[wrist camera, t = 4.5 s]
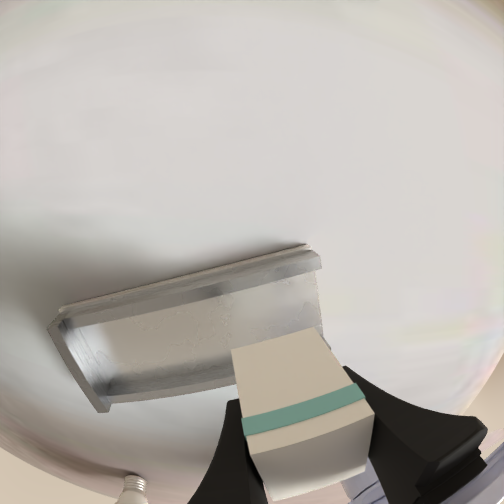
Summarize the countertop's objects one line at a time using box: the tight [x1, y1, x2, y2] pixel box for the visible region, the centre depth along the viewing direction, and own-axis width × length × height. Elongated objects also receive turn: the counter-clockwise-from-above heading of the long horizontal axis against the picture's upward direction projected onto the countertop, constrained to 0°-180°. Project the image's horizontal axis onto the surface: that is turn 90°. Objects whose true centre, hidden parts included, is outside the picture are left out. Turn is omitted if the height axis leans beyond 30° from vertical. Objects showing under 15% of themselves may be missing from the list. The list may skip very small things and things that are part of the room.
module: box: [231, 327, 375, 501], centre depth 10 cm, size 5×4×6 cm
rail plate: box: [47, 244, 331, 413], centre depth 17 cm, size 8×18×3 cm, turn 103°
